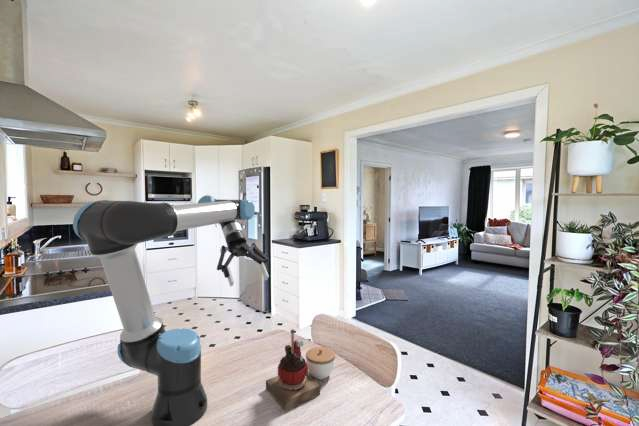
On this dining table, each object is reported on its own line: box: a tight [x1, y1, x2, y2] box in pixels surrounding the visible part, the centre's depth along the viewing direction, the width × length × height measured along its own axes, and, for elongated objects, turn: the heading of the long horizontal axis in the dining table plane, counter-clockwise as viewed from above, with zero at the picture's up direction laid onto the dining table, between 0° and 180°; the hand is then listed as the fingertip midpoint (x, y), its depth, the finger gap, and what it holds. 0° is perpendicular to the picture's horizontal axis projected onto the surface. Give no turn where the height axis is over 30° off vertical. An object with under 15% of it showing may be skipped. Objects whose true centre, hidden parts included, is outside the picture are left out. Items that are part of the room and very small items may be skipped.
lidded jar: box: [305, 346, 336, 380], centre depth 110 cm, size 11×11×9 cm
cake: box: [277, 328, 309, 390], centre depth 99 cm, size 11×9×18 cm
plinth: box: [265, 373, 321, 412], centre depth 100 cm, size 13×13×3 cm
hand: (250, 281), depth 111 cm, fingers open, 13 cm apart
